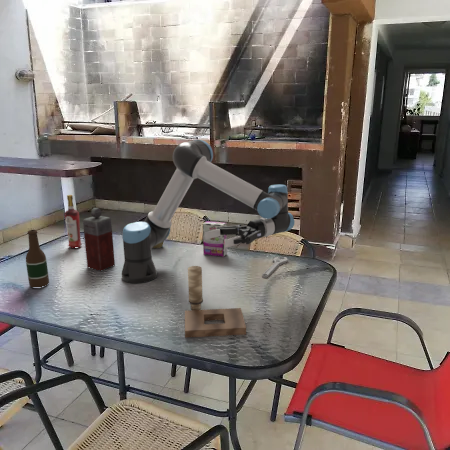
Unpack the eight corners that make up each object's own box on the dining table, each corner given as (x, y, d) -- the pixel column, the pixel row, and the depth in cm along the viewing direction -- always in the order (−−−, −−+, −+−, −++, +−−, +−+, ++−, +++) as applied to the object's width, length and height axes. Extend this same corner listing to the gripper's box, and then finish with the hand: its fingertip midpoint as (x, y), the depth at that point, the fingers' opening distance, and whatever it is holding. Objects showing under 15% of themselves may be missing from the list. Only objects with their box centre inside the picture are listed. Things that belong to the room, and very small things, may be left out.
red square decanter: (98, 260, 209) (93, 204, 201) (115, 265, 203) (110, 207, 195) (83, 266, 201) (77, 208, 194) (100, 271, 196) (95, 211, 188)
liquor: (65, 249, 226) (59, 196, 218) (72, 244, 233) (66, 193, 225) (78, 249, 224) (72, 197, 217) (85, 245, 231) (79, 194, 224)
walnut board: (185, 337, 140) (184, 330, 140) (185, 316, 154) (184, 310, 153) (246, 334, 142) (246, 327, 141) (240, 314, 155) (240, 308, 155)
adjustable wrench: (266, 279, 187) (266, 275, 186) (253, 276, 190) (253, 273, 190) (289, 261, 207) (289, 257, 207) (276, 258, 211) (277, 255, 210)
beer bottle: (53, 283, 183) (46, 229, 177) (38, 290, 176) (31, 234, 170) (40, 280, 186) (32, 227, 180) (25, 287, 180) (17, 232, 173)
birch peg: (188, 312, 157) (187, 271, 153) (188, 305, 162) (187, 266, 158) (203, 311, 158) (202, 270, 153) (202, 305, 163) (201, 265, 158)
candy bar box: (227, 254, 217) (227, 222, 212) (223, 257, 212) (223, 225, 208) (206, 251, 221) (206, 220, 216) (203, 254, 216) (202, 223, 211)
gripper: (281, 244, 161) (235, 257, 150) (242, 231, 181) (198, 242, 170) (280, 224, 159) (233, 236, 148) (241, 213, 179) (197, 223, 168)
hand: (214, 239), depth 159 cm, fingers open, 13 cm apart
